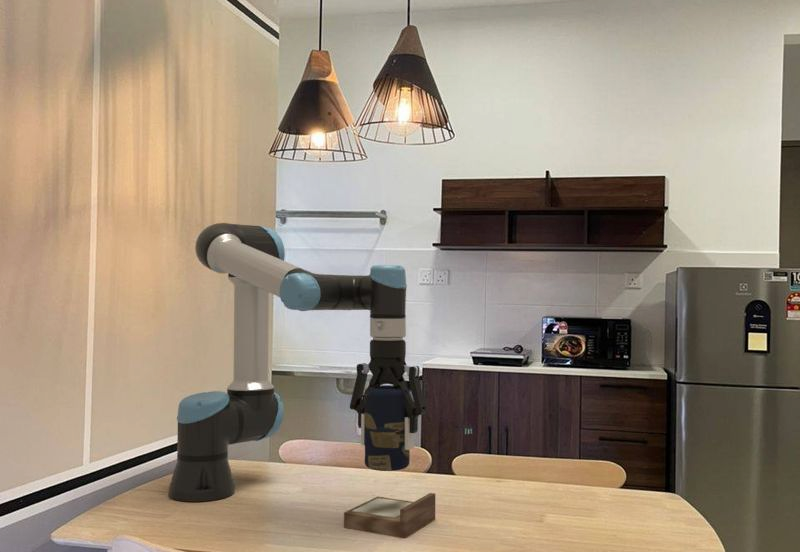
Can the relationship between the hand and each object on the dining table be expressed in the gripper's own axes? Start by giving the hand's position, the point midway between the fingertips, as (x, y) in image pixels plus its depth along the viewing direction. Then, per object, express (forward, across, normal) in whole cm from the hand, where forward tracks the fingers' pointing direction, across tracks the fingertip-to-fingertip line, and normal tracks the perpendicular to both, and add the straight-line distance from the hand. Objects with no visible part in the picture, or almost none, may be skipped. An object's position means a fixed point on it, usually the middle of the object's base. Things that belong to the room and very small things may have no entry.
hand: (387, 446), depth 154 cm
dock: (+16, +1, 0) cm, 16 cm away
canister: (+5, 0, 0) cm, 5 cm away
